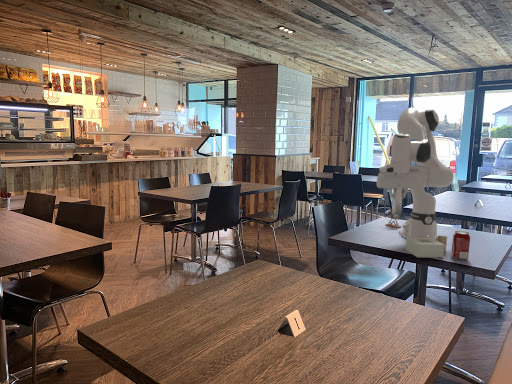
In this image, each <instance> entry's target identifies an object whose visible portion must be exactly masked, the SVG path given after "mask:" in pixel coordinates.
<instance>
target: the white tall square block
mask: <svg viewBox="0 0 512 384" xmlns="http://www.w3.org/2000/svg"><path fill="white" fill-rule="evenodd" d="M403 192H404V188H402V185H398V188H393V192H392V193H393V194H394V198H392V206H391V207H392V208H391V210H392V213H391V215H394V214H395V216H398V215H399V216H400V215H402V207H403V206H402V203H403V198H402V194H403Z"/></svg>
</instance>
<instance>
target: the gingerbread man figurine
mask: <svg viewBox="0 0 512 384" xmlns="http://www.w3.org/2000/svg"><path fill="white" fill-rule="evenodd" d="M388 214H389V215H390V217H391V218H390V220H389V222H388V223H386V224H385V227H389V228H394V229H398V230H399V229H401V228H402V226H401V225H399V224H398V220H401V216H400V215H395V214H392V209H389V210H388Z"/></svg>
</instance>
